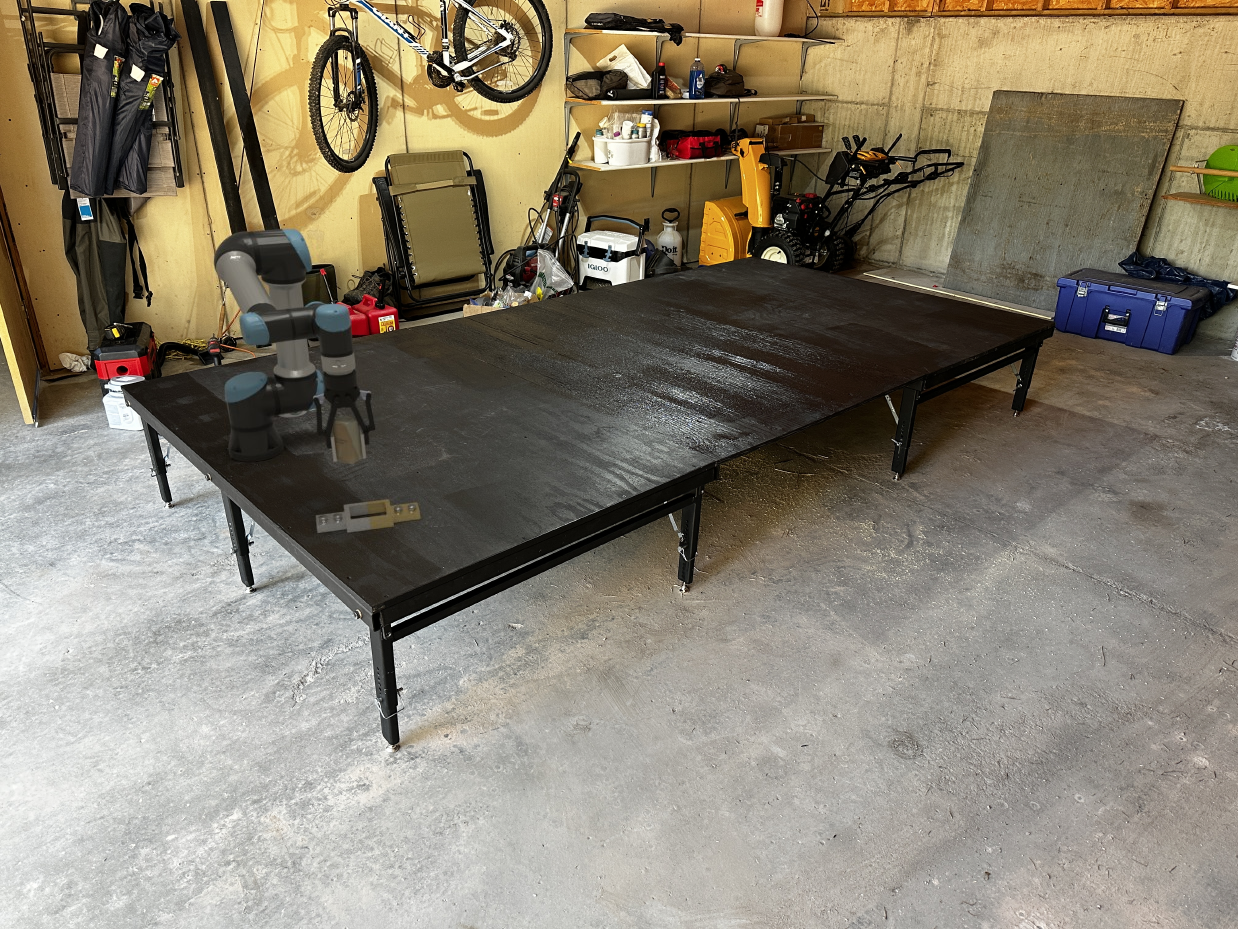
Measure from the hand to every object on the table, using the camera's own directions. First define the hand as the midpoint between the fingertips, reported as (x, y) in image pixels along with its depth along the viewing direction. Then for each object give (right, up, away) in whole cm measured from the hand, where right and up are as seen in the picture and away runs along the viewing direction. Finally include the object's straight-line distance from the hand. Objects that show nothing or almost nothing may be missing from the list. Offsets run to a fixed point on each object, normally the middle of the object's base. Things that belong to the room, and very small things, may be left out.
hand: (349, 457), depth 209 cm
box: (0, -1, 0) cm, 1 cm away
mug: (-42, +15, +66) cm, 80 cm away
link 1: (-3, -17, +4) cm, 18 cm away
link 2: (+9, -15, +8) cm, 20 cm away
